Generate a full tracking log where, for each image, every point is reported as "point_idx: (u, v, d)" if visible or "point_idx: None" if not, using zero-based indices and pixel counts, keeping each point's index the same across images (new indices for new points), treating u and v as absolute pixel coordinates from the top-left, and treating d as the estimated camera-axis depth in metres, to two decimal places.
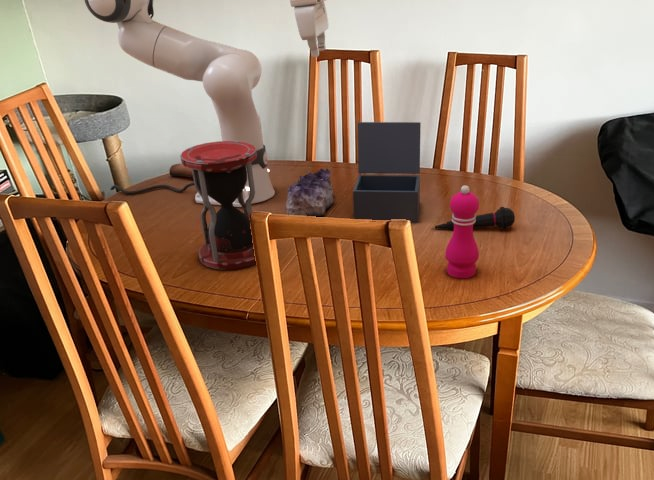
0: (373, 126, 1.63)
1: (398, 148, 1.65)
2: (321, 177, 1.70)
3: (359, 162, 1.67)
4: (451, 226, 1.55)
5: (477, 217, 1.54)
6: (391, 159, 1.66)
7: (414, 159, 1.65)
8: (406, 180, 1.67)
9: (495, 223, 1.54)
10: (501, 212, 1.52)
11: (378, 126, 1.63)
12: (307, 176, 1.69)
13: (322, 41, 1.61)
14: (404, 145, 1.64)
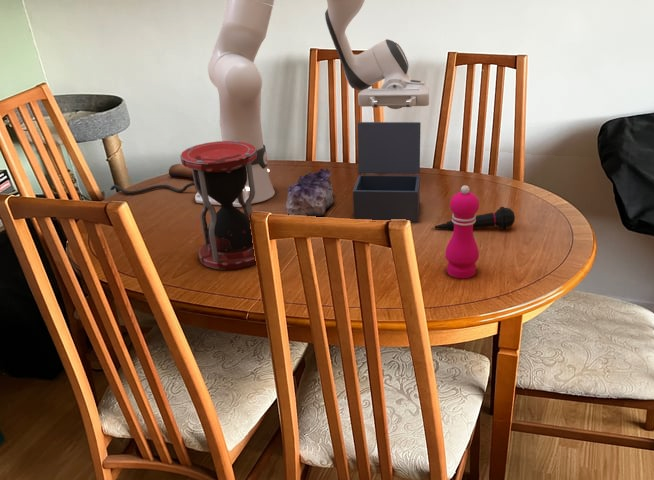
0: (373, 126, 1.63)
1: (398, 148, 1.65)
2: (321, 177, 1.70)
3: (359, 162, 1.67)
4: (451, 226, 1.55)
5: (477, 217, 1.54)
6: (391, 159, 1.66)
7: (414, 159, 1.65)
8: (406, 180, 1.67)
9: (495, 223, 1.54)
10: (501, 212, 1.52)
11: (378, 126, 1.63)
12: (307, 176, 1.69)
13: None
14: (404, 145, 1.64)
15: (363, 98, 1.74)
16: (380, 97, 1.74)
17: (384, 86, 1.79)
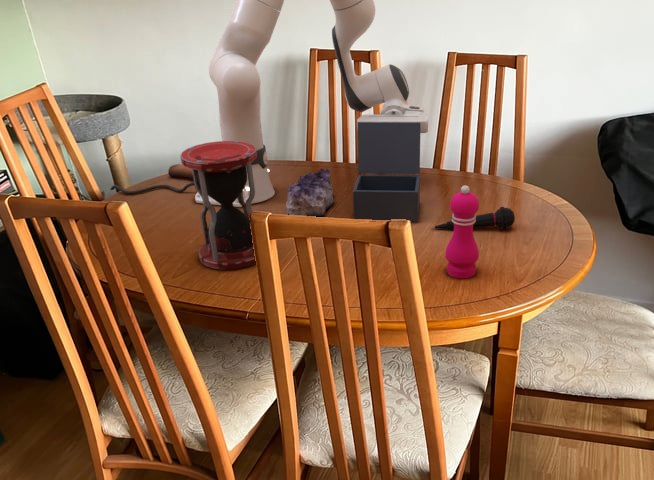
0: (373, 126, 1.63)
1: (398, 148, 1.65)
2: (321, 177, 1.70)
3: (359, 162, 1.67)
4: (451, 226, 1.55)
5: (477, 217, 1.54)
6: (391, 159, 1.66)
7: (414, 159, 1.65)
8: (406, 180, 1.67)
9: (495, 223, 1.54)
10: (501, 212, 1.52)
11: (378, 126, 1.63)
12: (307, 176, 1.69)
13: None
14: (404, 145, 1.64)
15: None
16: None
17: (383, 112, 1.79)
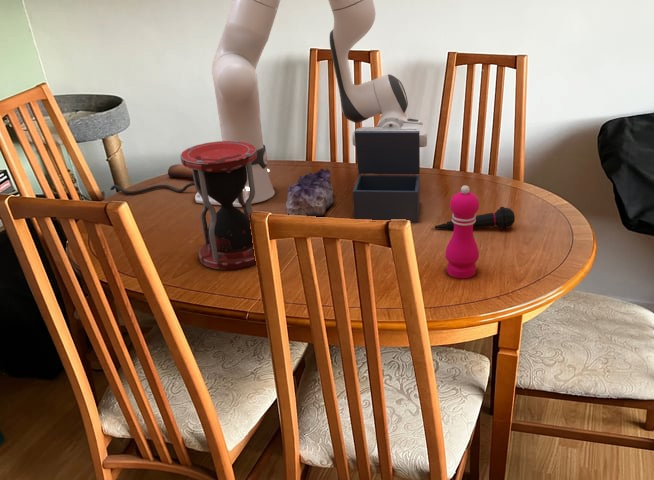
0: (371, 136, 1.58)
1: (397, 154, 1.62)
2: (321, 177, 1.70)
3: (358, 165, 1.66)
4: (451, 226, 1.55)
5: (477, 217, 1.54)
6: (390, 163, 1.64)
7: (414, 163, 1.64)
8: (406, 180, 1.67)
9: (495, 223, 1.54)
10: (501, 212, 1.52)
11: (376, 136, 1.58)
12: (307, 176, 1.69)
13: None
14: (403, 151, 1.61)
15: None
16: None
17: (380, 125, 1.71)
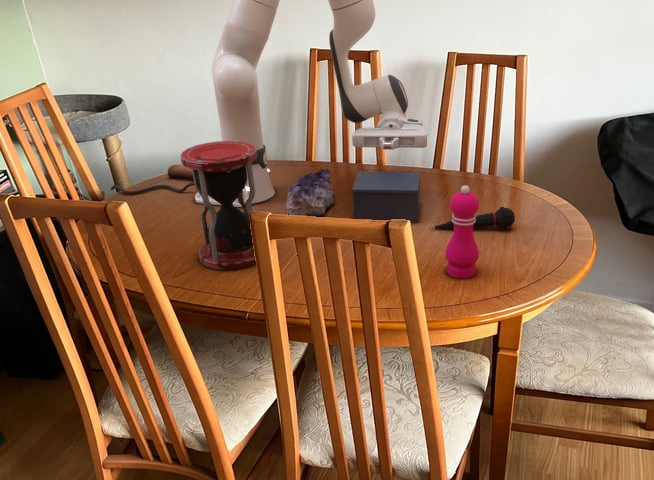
0: None
1: None
2: (321, 177, 1.70)
3: None
4: (451, 226, 1.55)
5: (477, 217, 1.54)
6: None
7: None
8: None
9: (495, 223, 1.54)
10: (501, 212, 1.52)
11: None
12: (307, 176, 1.69)
13: None
14: None
15: (358, 138, 1.65)
16: (375, 138, 1.65)
17: (380, 125, 1.70)
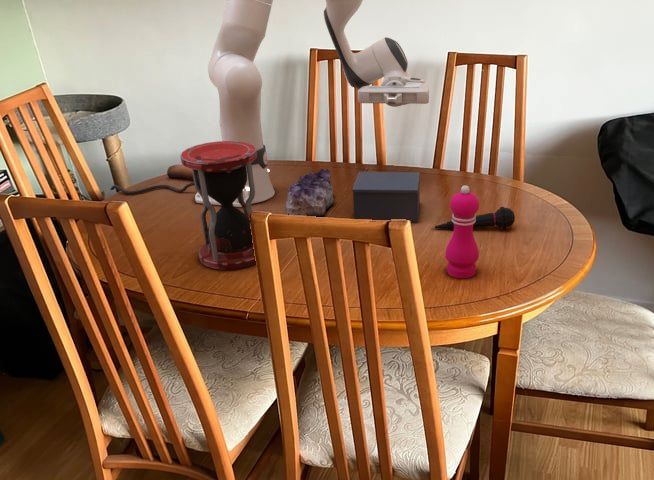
0: None
1: None
2: (321, 177, 1.70)
3: None
4: (451, 226, 1.55)
5: (477, 217, 1.54)
6: None
7: None
8: None
9: (495, 223, 1.54)
10: (501, 212, 1.52)
11: None
12: (307, 176, 1.69)
13: None
14: None
15: (363, 94, 1.74)
16: (380, 94, 1.74)
17: (384, 83, 1.79)
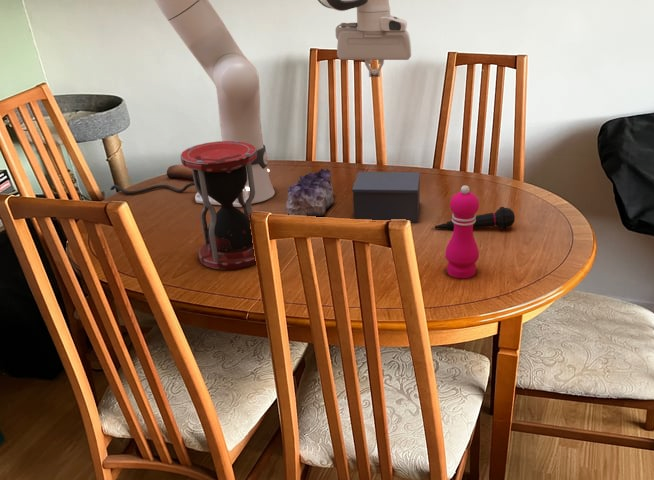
0: None
1: None
2: (321, 177, 1.70)
3: None
4: (451, 226, 1.55)
5: (477, 217, 1.54)
6: None
7: None
8: None
9: (495, 223, 1.54)
10: (501, 212, 1.52)
11: None
12: (307, 176, 1.69)
13: (371, 68, 1.71)
14: None
15: None
16: None
17: (361, 30, 1.64)
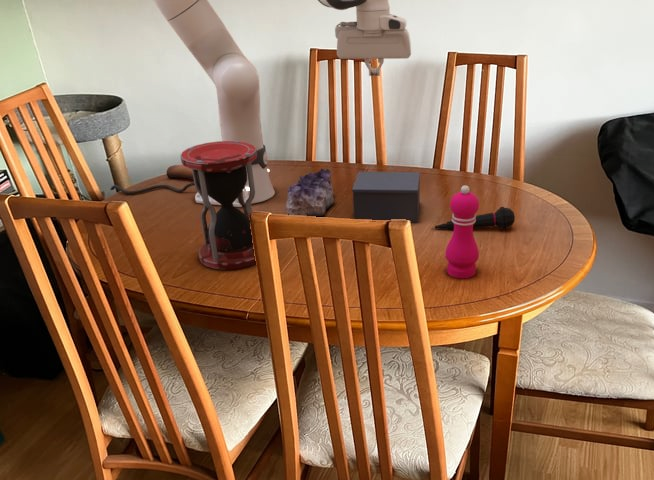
0: None
1: None
2: (321, 177, 1.70)
3: None
4: (451, 226, 1.55)
5: (477, 217, 1.54)
6: None
7: None
8: None
9: (495, 223, 1.54)
10: (501, 212, 1.52)
11: None
12: (307, 176, 1.69)
13: (370, 67, 1.71)
14: None
15: None
16: None
17: None
